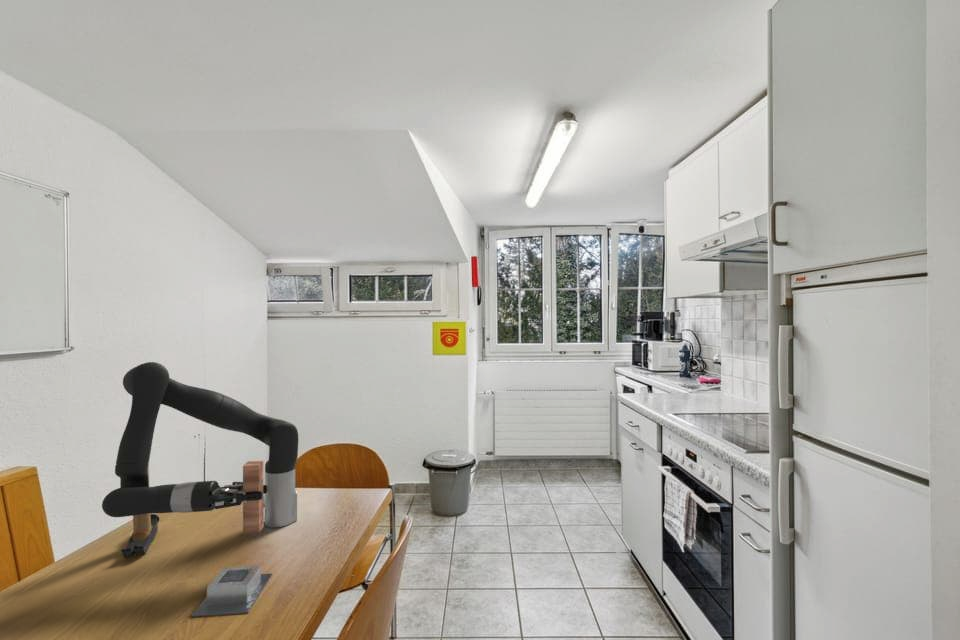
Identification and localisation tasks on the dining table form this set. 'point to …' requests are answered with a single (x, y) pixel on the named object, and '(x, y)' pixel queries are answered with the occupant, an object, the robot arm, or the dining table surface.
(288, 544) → the dining table surface
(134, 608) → the dining table surface
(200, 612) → the socket base
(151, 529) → the hammer
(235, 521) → the dining table surface
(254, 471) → the square peg
